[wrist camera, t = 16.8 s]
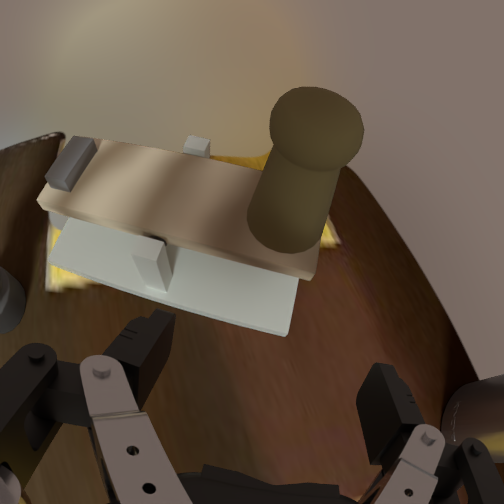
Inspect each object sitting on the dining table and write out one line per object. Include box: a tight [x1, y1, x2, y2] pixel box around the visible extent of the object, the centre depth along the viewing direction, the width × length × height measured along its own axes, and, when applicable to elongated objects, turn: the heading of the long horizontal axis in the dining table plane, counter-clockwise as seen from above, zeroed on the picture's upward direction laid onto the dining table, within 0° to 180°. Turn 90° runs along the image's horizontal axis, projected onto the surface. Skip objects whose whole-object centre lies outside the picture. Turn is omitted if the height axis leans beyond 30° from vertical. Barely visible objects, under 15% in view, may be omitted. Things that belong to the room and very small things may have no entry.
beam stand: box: [48, 135, 299, 337], centre depth 28 cm, size 24×14×8 cm, turn 77°
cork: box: [247, 87, 364, 254], centre depth 20 cm, size 6×6×11 cm
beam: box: [37, 136, 321, 281], centre depth 25 cm, size 24×8×4 cm, turn 77°
